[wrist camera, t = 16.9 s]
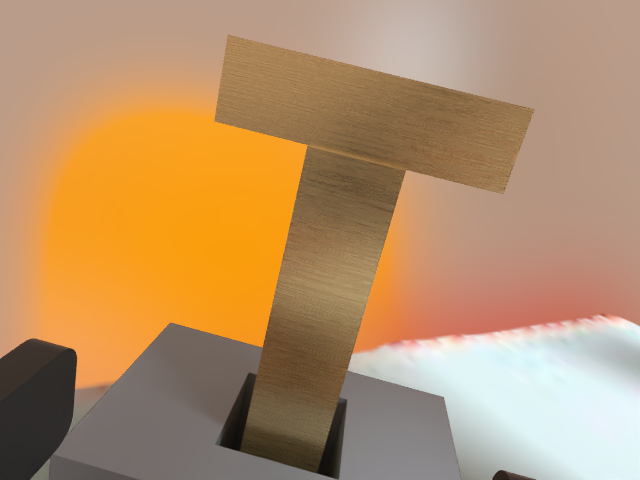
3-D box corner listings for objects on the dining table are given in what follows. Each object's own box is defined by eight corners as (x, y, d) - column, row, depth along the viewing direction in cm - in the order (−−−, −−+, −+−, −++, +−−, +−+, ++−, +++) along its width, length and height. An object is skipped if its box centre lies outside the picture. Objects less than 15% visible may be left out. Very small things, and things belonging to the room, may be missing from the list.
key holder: (408, 489, 25) (443, 397, 23) (423, 698, 16) (482, 578, 14) (156, 418, 25) (170, 322, 23) (43, 583, 17) (50, 453, 15)
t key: (366, 512, 22) (509, 106, 16) (364, 576, 19) (537, 110, 13) (181, 459, 22) (251, 44, 16) (151, 513, 19) (224, 33, 13)
